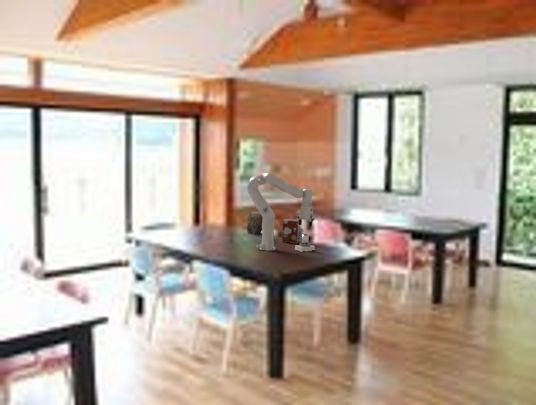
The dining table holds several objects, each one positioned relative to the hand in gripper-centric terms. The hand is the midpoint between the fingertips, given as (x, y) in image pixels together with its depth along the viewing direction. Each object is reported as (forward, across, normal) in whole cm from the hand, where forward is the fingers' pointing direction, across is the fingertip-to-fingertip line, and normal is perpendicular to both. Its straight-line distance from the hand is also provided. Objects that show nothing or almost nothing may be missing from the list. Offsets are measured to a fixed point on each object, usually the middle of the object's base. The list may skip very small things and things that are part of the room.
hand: (305, 225), depth 450 cm
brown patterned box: (+20, +26, -24) cm, 40 cm away
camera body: (+20, -1, -1) cm, 20 cm away
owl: (+21, +78, -36) cm, 88 cm away
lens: (+16, -1, 0) cm, 16 cm away
